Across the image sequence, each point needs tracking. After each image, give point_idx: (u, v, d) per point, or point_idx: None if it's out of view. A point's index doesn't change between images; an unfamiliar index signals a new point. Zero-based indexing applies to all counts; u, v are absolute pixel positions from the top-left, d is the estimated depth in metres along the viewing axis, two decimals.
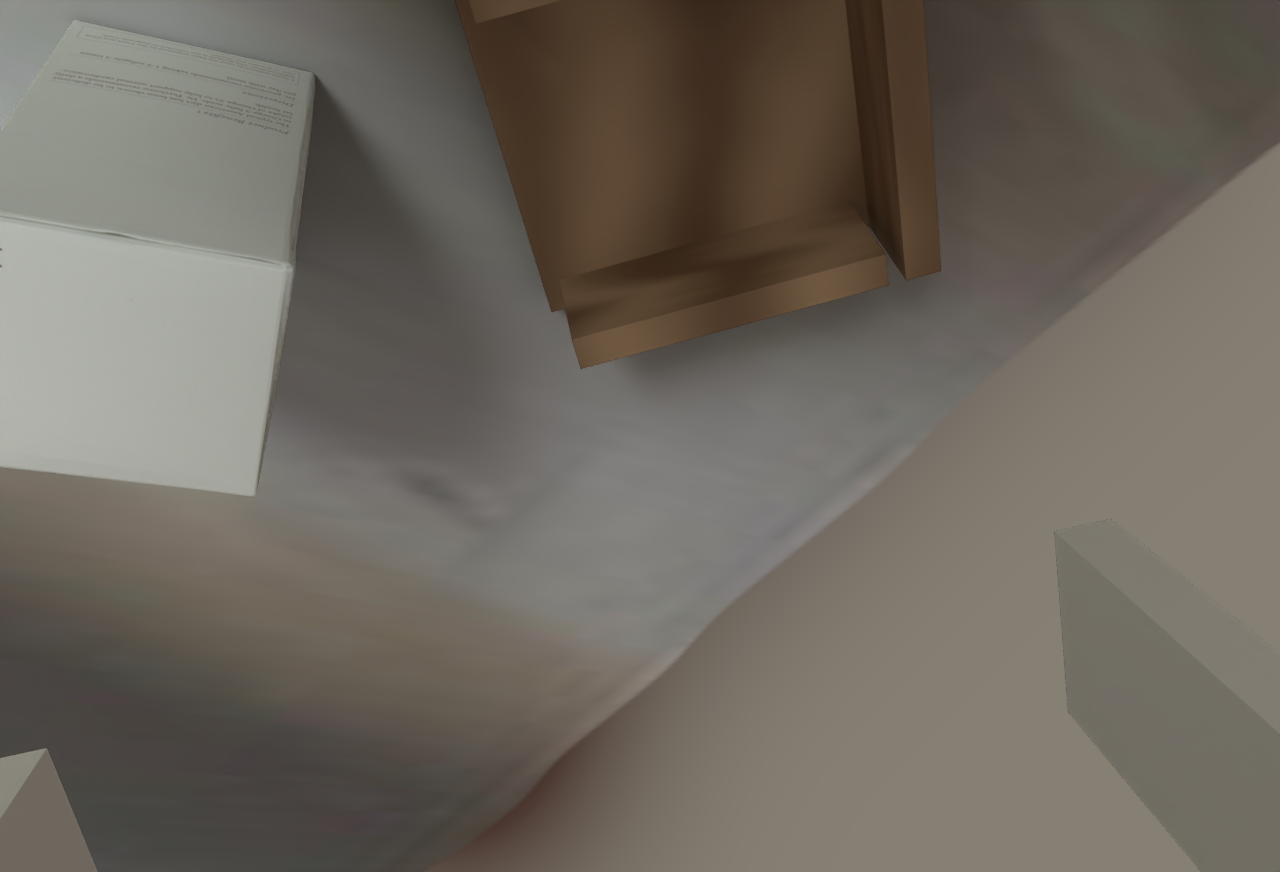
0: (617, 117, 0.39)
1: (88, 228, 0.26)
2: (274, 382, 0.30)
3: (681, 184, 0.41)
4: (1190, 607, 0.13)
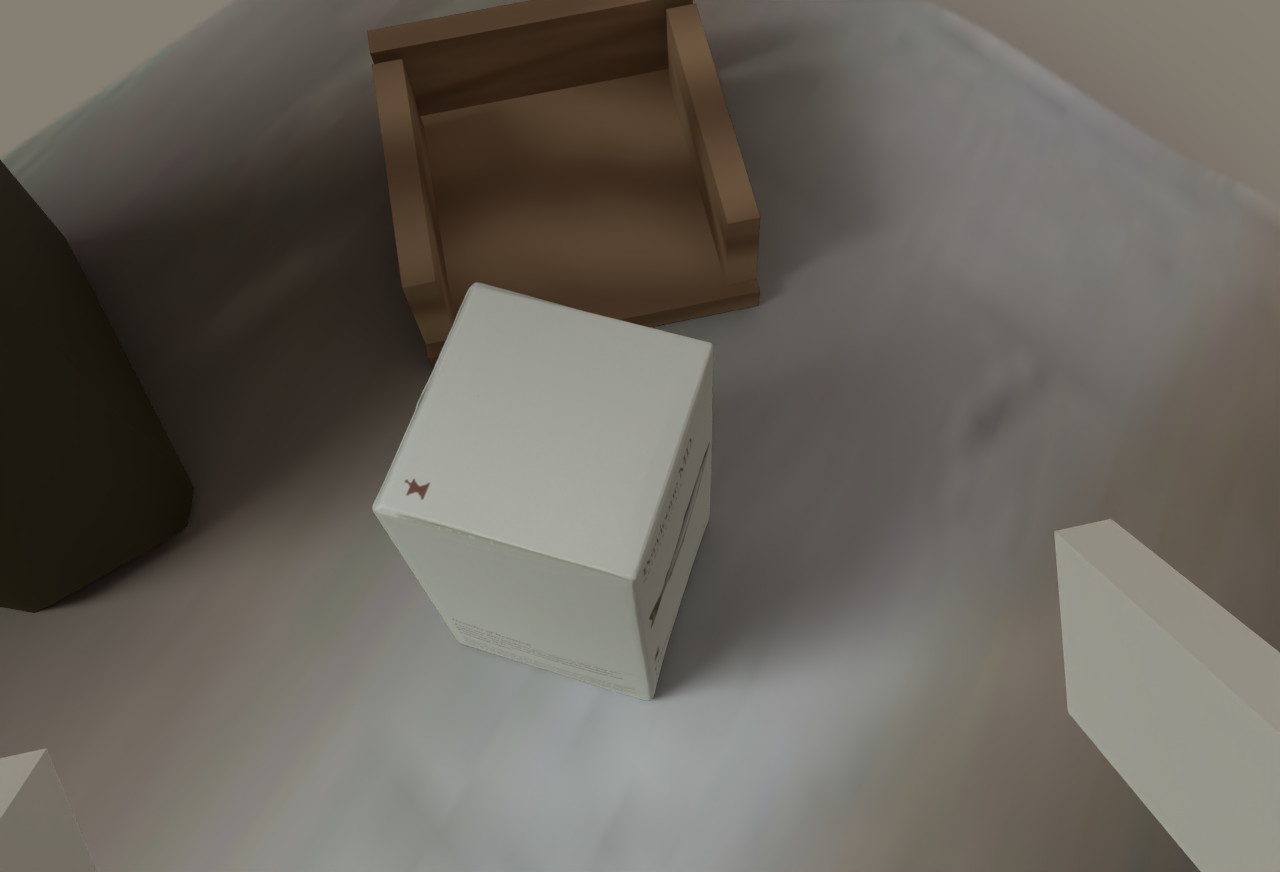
0: (578, 241, 0.47)
1: (412, 417, 0.32)
2: None
3: (642, 195, 0.48)
4: (1190, 607, 0.13)
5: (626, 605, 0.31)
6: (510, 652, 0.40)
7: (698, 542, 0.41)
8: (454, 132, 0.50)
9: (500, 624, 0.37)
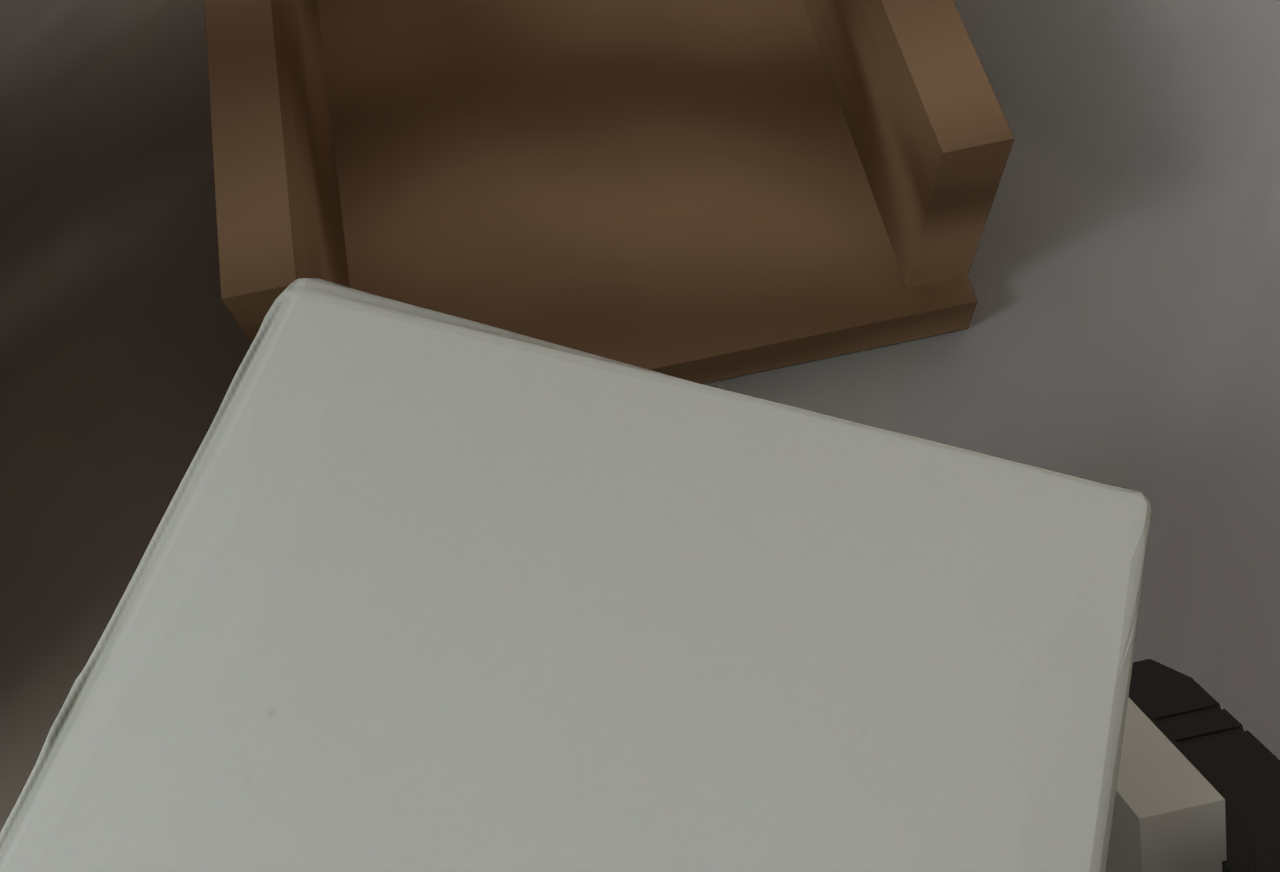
0: (607, 204, 0.24)
1: (21, 793, 0.08)
2: (672, 376, 0.09)
3: (729, 117, 0.25)
4: None
5: None
6: None
7: None
8: (373, 8, 0.27)
9: None
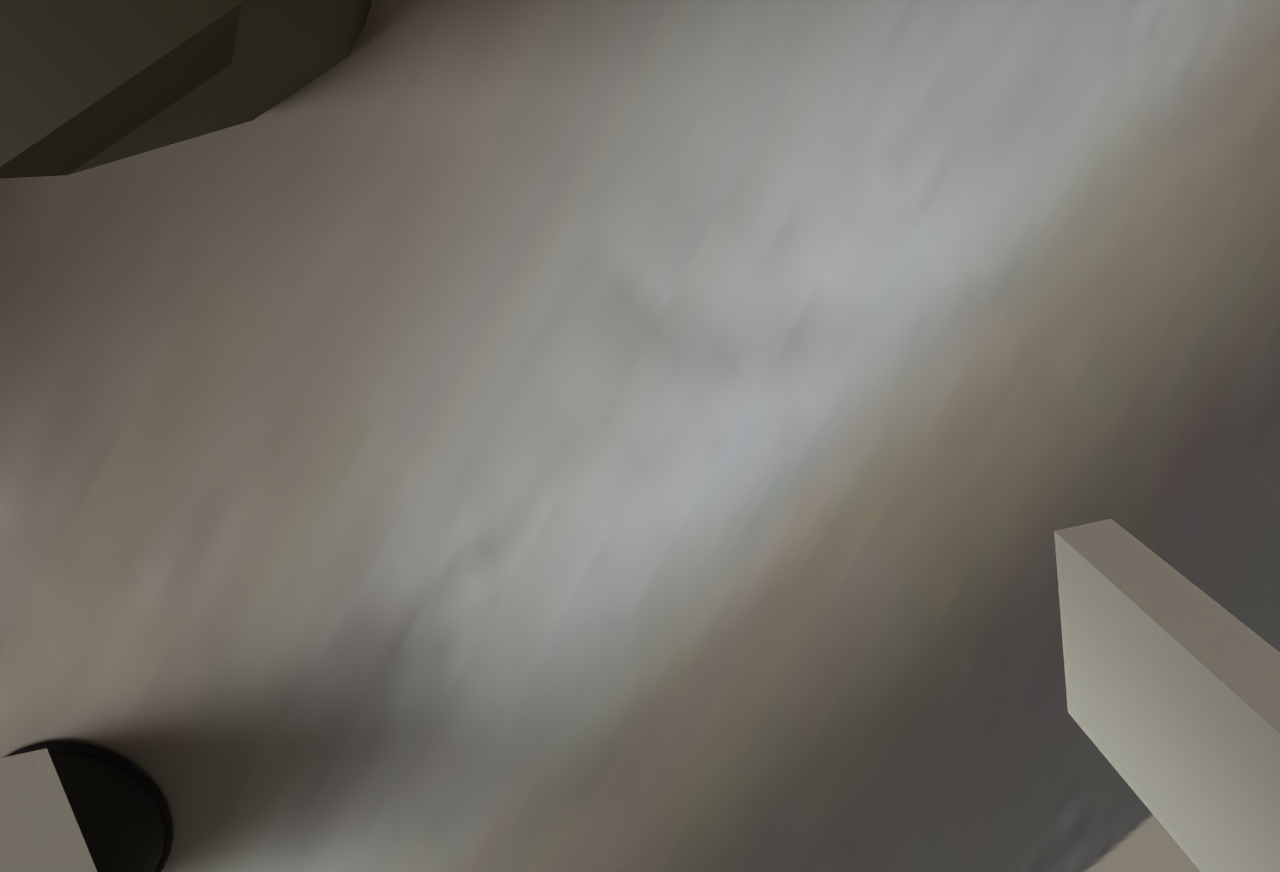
0: None
1: None
2: None
3: None
4: (1190, 607, 0.13)
5: None
6: None
7: None
8: None
9: None
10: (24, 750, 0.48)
